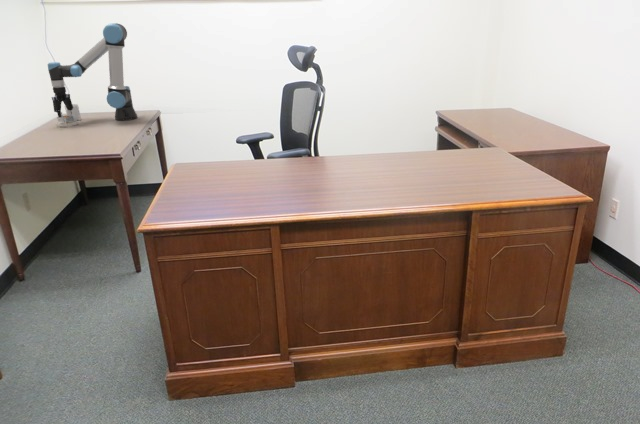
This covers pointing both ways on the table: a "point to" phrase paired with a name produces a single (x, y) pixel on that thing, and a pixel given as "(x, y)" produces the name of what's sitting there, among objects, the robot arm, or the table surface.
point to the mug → (75, 112)
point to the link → (67, 119)
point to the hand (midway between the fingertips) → (66, 120)
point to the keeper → (67, 123)
